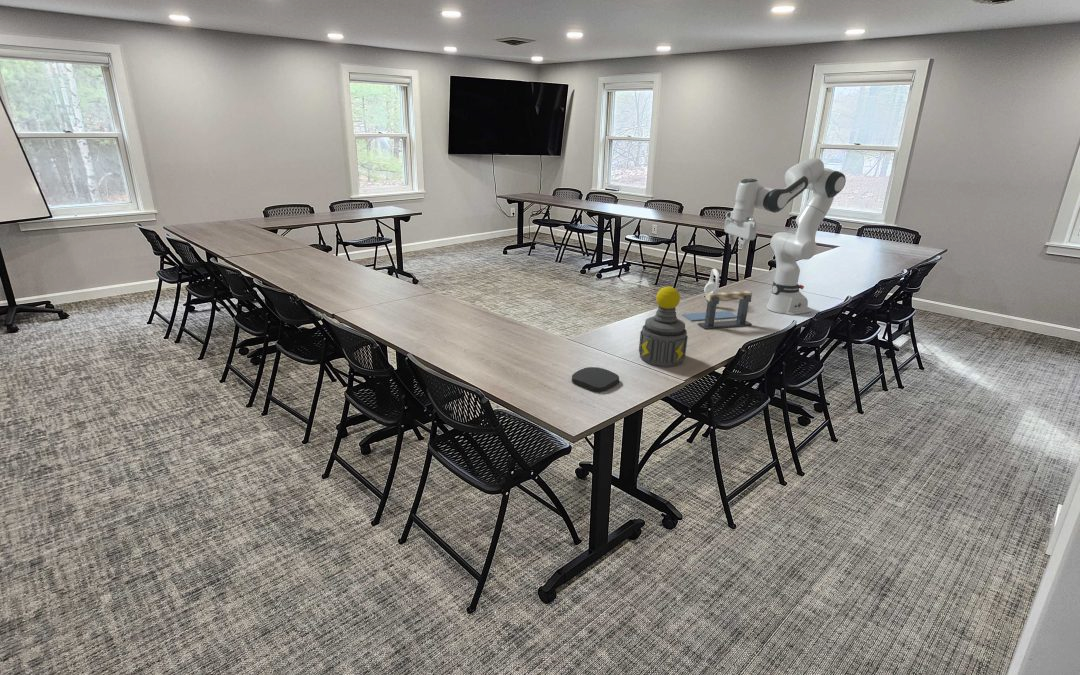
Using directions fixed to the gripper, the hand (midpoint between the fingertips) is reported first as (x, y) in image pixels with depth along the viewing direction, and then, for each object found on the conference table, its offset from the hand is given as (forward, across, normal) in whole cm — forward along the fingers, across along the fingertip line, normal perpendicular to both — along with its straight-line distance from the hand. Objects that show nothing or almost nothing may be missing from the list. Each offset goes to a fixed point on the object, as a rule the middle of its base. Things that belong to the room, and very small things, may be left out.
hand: (737, 246), depth 260 cm
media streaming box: (+40, -51, +84) cm, 107 cm away
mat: (+37, +7, +3) cm, 38 cm away
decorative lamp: (+39, -36, +50) cm, 73 cm away
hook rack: (+37, -6, +3) cm, 37 cm away
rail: (+24, -6, +3) cm, 25 cm away
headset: (+37, +28, -10) cm, 47 cm away
